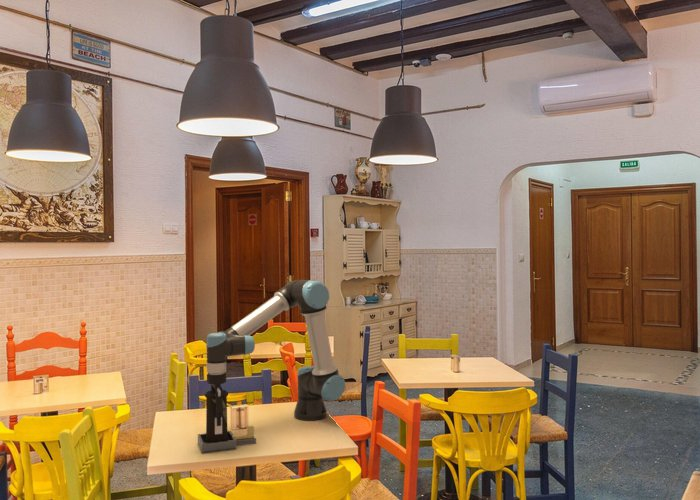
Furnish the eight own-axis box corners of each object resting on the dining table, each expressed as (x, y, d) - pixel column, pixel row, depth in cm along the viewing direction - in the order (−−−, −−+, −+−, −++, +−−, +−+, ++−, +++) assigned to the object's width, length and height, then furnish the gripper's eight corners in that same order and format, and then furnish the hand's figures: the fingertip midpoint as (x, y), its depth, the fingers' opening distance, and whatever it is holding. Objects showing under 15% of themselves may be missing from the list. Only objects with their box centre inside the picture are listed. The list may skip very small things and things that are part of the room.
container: (223, 445, 237) (222, 393, 237) (201, 444, 239) (201, 392, 238) (231, 438, 245) (231, 388, 245) (210, 437, 247) (210, 387, 247)
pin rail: (253, 440, 249) (253, 435, 249) (256, 443, 245) (256, 438, 245) (233, 442, 246) (233, 437, 246) (235, 445, 242) (234, 441, 242)
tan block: (252, 438, 248) (252, 425, 248) (253, 439, 246) (253, 427, 246) (234, 440, 245) (234, 427, 245) (234, 441, 243) (234, 429, 243)
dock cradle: (230, 439, 250) (230, 430, 250) (236, 449, 238) (236, 440, 238) (197, 443, 246) (197, 434, 246) (201, 453, 233) (201, 444, 233)
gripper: (203, 368, 250) (203, 424, 250) (210, 378, 231) (210, 439, 231) (222, 367, 253) (222, 422, 253) (230, 377, 233) (230, 437, 233)
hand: (216, 430), depth 242 cm, fingers closed on container, 8 cm apart
